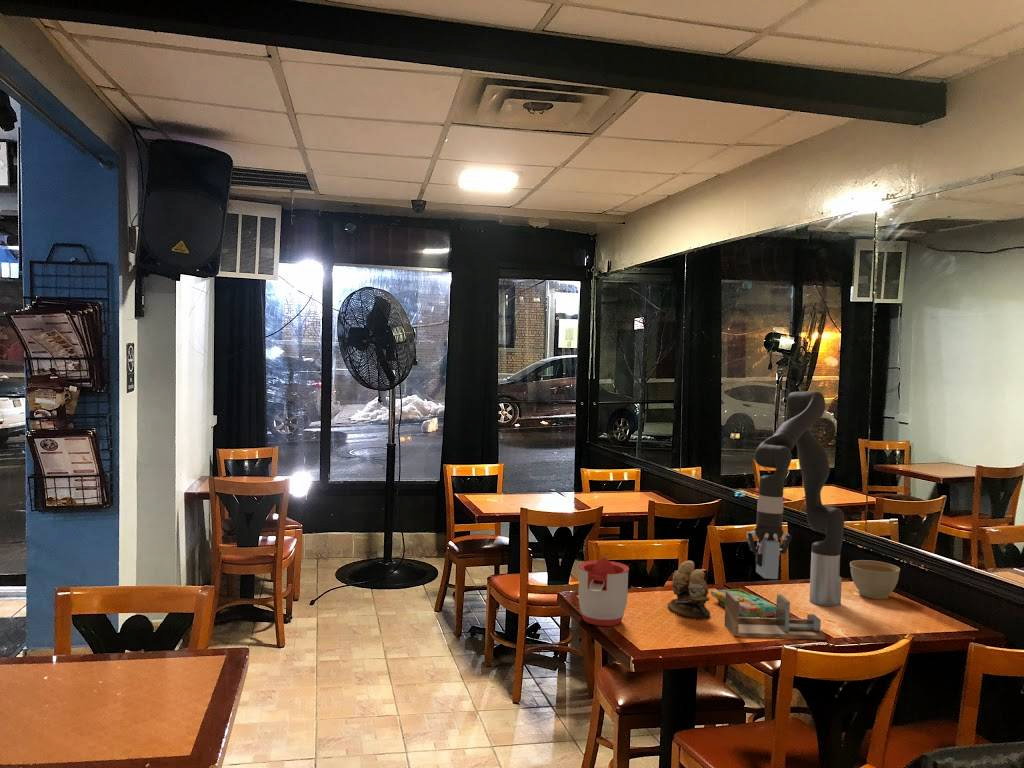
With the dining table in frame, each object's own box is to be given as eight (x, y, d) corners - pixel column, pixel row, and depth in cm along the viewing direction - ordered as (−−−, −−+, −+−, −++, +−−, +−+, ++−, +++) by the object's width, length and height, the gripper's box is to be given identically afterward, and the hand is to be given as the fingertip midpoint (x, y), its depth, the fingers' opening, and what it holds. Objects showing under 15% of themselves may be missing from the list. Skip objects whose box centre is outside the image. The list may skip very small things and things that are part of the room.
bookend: (811, 624, 232) (812, 595, 232) (821, 632, 225) (823, 602, 225) (775, 623, 232) (776, 594, 232) (784, 631, 225) (785, 601, 225)
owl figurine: (721, 619, 239) (723, 566, 239) (689, 623, 235) (691, 569, 235) (689, 602, 256) (690, 552, 256) (658, 605, 252) (660, 554, 251)
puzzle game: (745, 606, 239) (711, 588, 258) (744, 620, 239) (710, 601, 258) (777, 604, 243) (740, 586, 262) (776, 618, 243) (740, 599, 262)
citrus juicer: (568, 626, 228) (570, 560, 228) (584, 610, 244) (586, 548, 244) (619, 634, 222) (621, 566, 222) (632, 617, 238) (634, 554, 238)
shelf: (811, 627, 234) (813, 593, 233) (825, 639, 224) (826, 603, 223) (724, 625, 234) (725, 591, 233) (734, 636, 224) (735, 601, 223)
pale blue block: (768, 572, 234) (770, 537, 234) (777, 579, 226) (779, 542, 226) (755, 571, 234) (757, 536, 234) (764, 578, 226) (766, 541, 226)
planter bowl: (843, 588, 280) (844, 558, 280) (889, 591, 278) (890, 561, 277) (856, 600, 264) (858, 570, 264) (905, 604, 262) (907, 573, 262)
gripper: (788, 509, 234) (785, 564, 234) (742, 507, 234) (739, 562, 234) (798, 513, 227) (794, 570, 227) (750, 511, 227) (747, 568, 227)
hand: (766, 566), depth 230 cm, fingers closed on pale blue block, 4 cm apart
